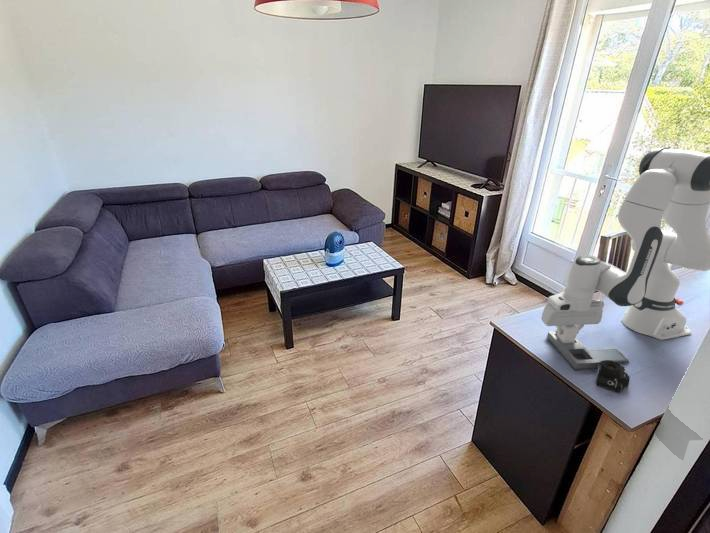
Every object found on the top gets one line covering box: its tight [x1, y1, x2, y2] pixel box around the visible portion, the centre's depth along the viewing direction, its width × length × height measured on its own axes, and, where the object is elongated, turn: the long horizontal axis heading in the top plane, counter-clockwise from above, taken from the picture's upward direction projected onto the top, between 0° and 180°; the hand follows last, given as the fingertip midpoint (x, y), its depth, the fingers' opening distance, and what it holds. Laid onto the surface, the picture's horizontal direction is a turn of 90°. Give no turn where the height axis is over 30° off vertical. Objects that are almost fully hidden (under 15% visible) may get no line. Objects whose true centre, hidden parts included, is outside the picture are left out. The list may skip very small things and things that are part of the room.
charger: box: [557, 325, 579, 343], centre depth 133 cm, size 4×4×7 cm
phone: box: [587, 348, 630, 366], centre depth 128 cm, size 13×6×1 cm, turn 93°
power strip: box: [546, 329, 601, 371], centre depth 131 cm, size 8×18×4 cm, turn 3°
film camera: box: [595, 360, 631, 393], centre depth 118 cm, size 13×8×10 cm
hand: (566, 333), depth 133 cm, fingers closed on charger, 4 cm apart
